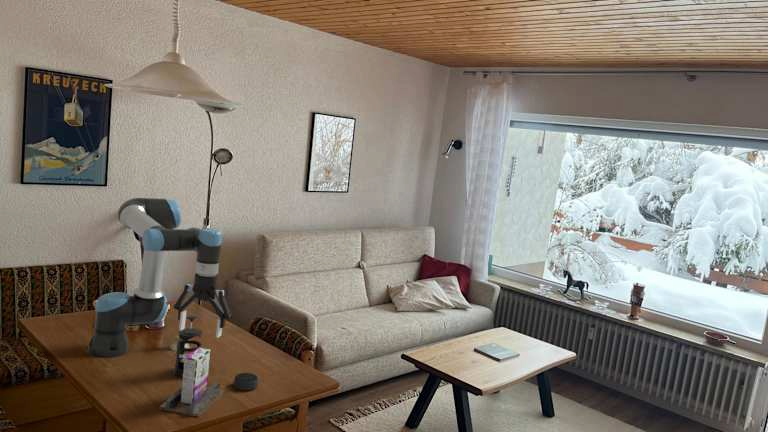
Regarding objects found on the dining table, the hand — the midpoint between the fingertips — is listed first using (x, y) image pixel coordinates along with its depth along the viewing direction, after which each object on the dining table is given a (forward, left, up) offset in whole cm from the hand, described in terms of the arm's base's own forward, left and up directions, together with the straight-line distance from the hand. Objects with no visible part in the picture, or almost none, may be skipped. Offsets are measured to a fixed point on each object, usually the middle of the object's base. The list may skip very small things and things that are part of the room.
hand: (200, 333), depth 203 cm
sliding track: (0, 0, -25) cm, 25 cm away
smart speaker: (+12, +19, -25) cm, 34 cm away
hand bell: (-27, +43, -25) cm, 56 cm away
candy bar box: (0, 0, -24) cm, 24 cm away
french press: (-13, +20, -25) cm, 34 cm away
